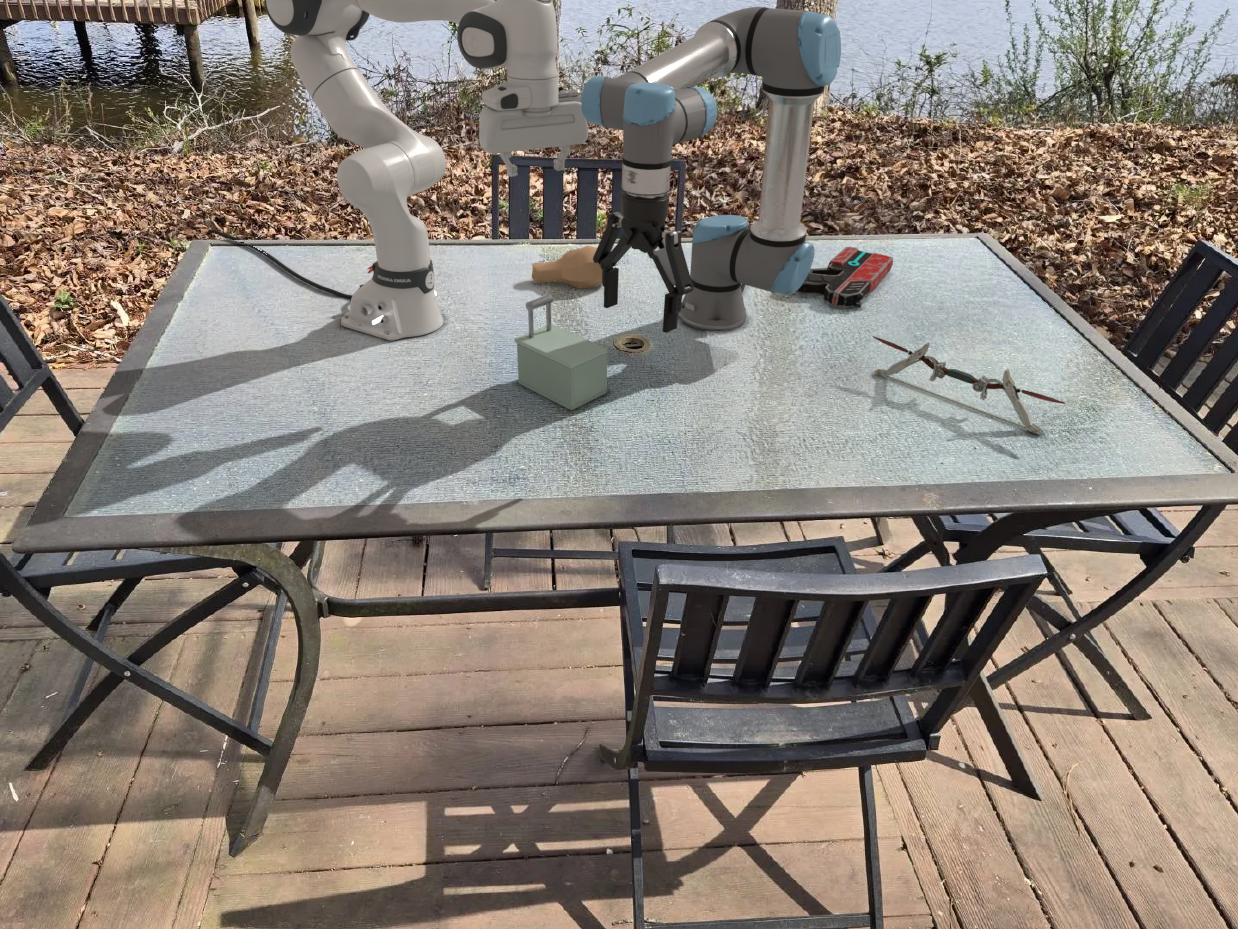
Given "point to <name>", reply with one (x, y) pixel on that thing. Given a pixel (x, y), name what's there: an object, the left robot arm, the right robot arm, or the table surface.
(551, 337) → the lid
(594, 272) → the squash
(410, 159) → the left robot arm
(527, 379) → the chest
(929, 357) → the bow
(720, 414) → the table surface
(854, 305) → the gun
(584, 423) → the table surface
